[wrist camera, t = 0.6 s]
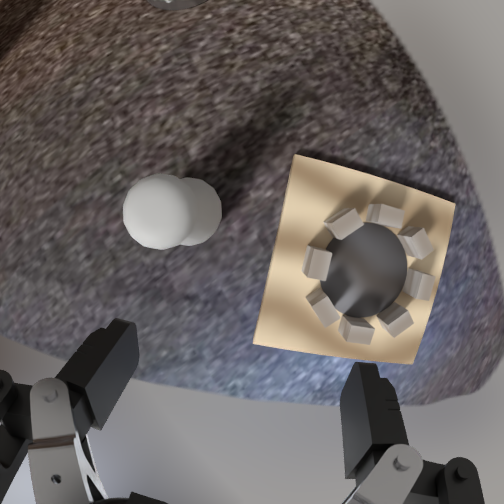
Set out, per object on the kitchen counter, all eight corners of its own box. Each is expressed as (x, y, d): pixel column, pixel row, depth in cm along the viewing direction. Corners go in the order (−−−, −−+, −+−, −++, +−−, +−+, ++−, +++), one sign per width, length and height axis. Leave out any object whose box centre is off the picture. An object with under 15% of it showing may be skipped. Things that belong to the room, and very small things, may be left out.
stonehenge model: (293, 156, 29) (300, 147, 25) (450, 203, 30) (471, 203, 26) (252, 339, 31) (253, 357, 27) (408, 360, 32) (424, 376, 28)
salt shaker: (158, 236, 29) (98, 254, 17) (168, 176, 29) (114, 152, 16) (218, 247, 30) (197, 274, 17) (229, 186, 29) (217, 166, 16)
